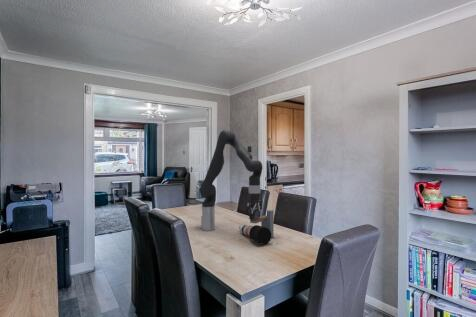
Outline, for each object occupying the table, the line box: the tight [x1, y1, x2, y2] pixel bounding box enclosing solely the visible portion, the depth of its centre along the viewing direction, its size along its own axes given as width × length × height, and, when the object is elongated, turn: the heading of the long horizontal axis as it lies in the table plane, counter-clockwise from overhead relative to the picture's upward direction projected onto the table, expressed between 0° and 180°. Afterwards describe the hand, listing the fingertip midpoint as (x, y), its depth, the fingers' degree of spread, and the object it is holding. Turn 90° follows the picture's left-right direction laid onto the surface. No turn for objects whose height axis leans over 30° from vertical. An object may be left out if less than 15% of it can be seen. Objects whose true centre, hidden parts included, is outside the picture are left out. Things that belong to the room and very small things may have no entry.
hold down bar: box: [249, 209, 267, 224], centre depth 169 cm, size 4×17×8 cm, turn 140°
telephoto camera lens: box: [238, 224, 272, 246], centre depth 172 cm, size 10×34×10 cm, turn 25°
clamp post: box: [260, 209, 275, 239], centre depth 173 cm, size 7×4×18 cm, turn 51°
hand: (254, 218), depth 164 cm, fingers open, 7 cm apart
